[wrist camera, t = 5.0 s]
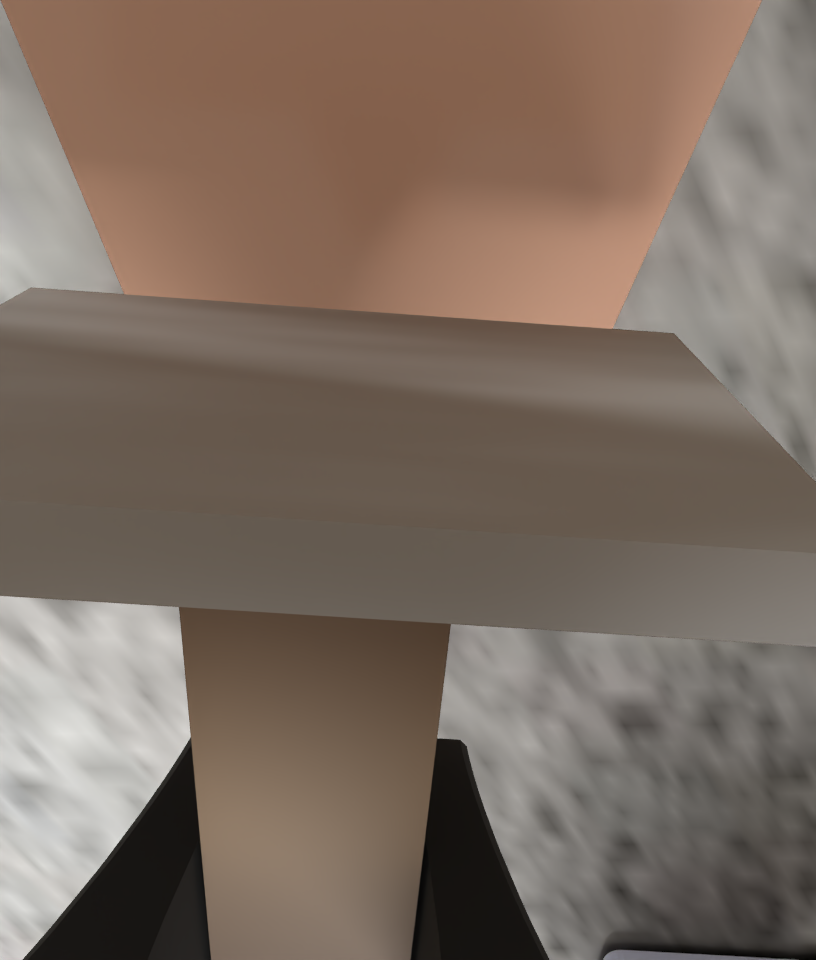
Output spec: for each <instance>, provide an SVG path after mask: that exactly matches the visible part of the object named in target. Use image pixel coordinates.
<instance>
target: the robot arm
mask: <svg viewBox="0 0 816 960" xmlns="http://www.w3.org/2000/svg"><path fill="white" fill-rule="evenodd" d="M23 960H211V953H210V942H209V931H208V920H207V909H206V898H205V887H204V876H203V865H202V854H201V843H200V832H199V821H198V810H197V799H196V788H195V776H194V765H193V754H192V743H191V738H190V740H189V741H188V743H187V745H186V746H185V748H184V750H183V751H182V753H181V754H180V756H179V757H178V759H177V761H176V762H175V764H174V765H173V767H172V768H171V770H170V771H169V773H168V774H167V776H166V777H165V779H164V780H163V782H162V783H161V785H160V786H159V788H158V789H157V791H156V792H155V793H154V795H153V796H152V798H151V799H150V801H149V802H148V803H147V805H146V806H145V808H144V809H143V811H142V812H141V813H140V815H139V816H138V817H137V819H136V820H135V821H134V823H133V824H132V825H131V827H130V828H129V829H128V831H127V832H126V834H125V835H124V836H123V838H122V839H121V840H120V842H119V843H118V844H117V846H116V847H115V848H114V850H113V851H112V852H111V854H110V855H109V856H108V858H107V859H106V860H105V862H104V863H103V864H102V865H101V867H100V868H99V869H98V871H97V872H96V873H95V874H94V875H93V877H92V878H91V879H90V880H89V882H88V883H87V884H86V885H85V886H84V888H83V889H82V890H81V891H80V893H79V894H78V895H77V896H76V897H75V899H74V900H73V901H72V902H71V904H70V905H69V906H68V907H67V908H66V910H65V911H64V912H63V913H62V914H61V916H60V917H59V918H58V919H57V921H56V922H55V923H54V924H53V925H52V927H51V928H50V929H49V930H48V931H47V932H46V934H45V935H44V936H43V937H42V938H41V939H40V940H39V942H38V943H37V944H36V945H35V946H34V947H33V948H32V950H31V951H30V952H29V953H28V954H27V955H26V956H25V957H24V959H23ZM410 960H549V958H548V956H547V954H546V952H545V950H544V948H543V946H542V943H541V941H540V939H539V937H538V935H537V933H536V931H535V929H534V927H533V925H532V923H531V921H530V919H529V916H528V914H527V912H526V910H525V908H524V905H523V903H522V901H521V899H520V897H519V894H518V892H517V890H516V887H515V885H514V883H513V880H512V878H511V875H510V873H509V871H508V868H507V866H506V864H505V861H504V859H503V857H502V854H501V852H500V849H499V847H498V844H497V842H496V839H495V836H494V834H493V831H492V829H491V826H490V823H489V820H488V817H487V815H486V812H485V809H484V806H483V803H482V800H481V797H480V794H479V791H478V788H477V785H476V781H475V778H474V775H473V771H472V767H471V763H470V760H469V755H468V751H467V746H466V745H465V744H464V743H463V742H462V741H461V740H453V739H437V742H436V751H435V759H434V767H433V776H432V784H431V792H430V801H429V809H428V817H427V826H426V834H425V842H424V851H423V859H422V867H421V876H420V884H419V892H418V901H417V909H416V917H415V926H414V934H413V942H412V951H411V959H410ZM603 960H797V959H779V958H761V957H743V956H726V955H708V954H690V953H672V952H654V951H637V950H614V951H611V952H609V953H608V954H606V956H605V957H604V958H603Z"/></svg>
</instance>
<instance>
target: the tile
mask: <svg viewBox="0 0 816 960" xmlns="http://www.w3.org/2000/svg"><path fill="white" fill-rule="evenodd" d="M761 1H762V0H1V2H2V4H3V7H4V9H5V11H6V14H7V16H8V19H9V21H10V23H11V26H12V28H13V30H14V33H15V35H16V38H17V40H18V42H19V45H20V47H21V49H22V52H23V54H24V57H25V59H26V61H27V64H28V66H29V68H30V71H31V73H32V76H33V78H34V80H35V83H36V85H37V88H38V90H39V92H40V95H41V97H42V99H43V102H44V104H45V107H46V109H47V111H48V114H49V116H50V118H51V121H52V123H53V126H54V128H55V130H56V133H57V135H58V137H59V140H60V142H61V145H62V147H63V149H64V152H65V154H66V157H67V159H68V161H69V164H70V166H71V168H72V171H73V173H74V176H75V178H76V180H77V183H78V185H79V187H80V190H81V192H82V195H83V197H84V199H85V202H86V204H87V206H88V209H89V211H90V214H91V216H92V218H93V221H94V223H95V225H96V228H97V230H98V233H99V235H100V237H101V240H102V242H103V245H104V247H105V249H106V252H107V254H108V256H109V259H110V261H111V264H112V266H113V268H114V271H115V273H116V275H117V278H118V280H119V283H120V285H121V287H122V290H123V292H124V294H127V295H141V296H155V297H170V298H184V299H198V300H212V301H226V302H240V303H254V304H268V305H282V306H296V307H310V308H324V309H338V310H352V311H366V312H381V313H395V314H409V315H423V316H437V317H451V318H465V319H479V320H493V321H507V322H521V323H535V324H549V325H563V326H578V327H592V328H606V329H613V326H614V324H615V322H616V320H617V318H618V316H619V313H620V311H621V309H622V307H623V305H624V302H625V300H626V298H627V296H628V294H629V291H630V289H631V287H632V285H633V283H634V280H635V278H636V276H637V274H638V272H639V269H640V267H641V265H642V263H643V261H644V258H645V256H646V254H647V252H648V250H649V247H650V245H651V243H652V241H653V239H654V236H655V234H656V232H657V230H658V228H659V225H660V223H661V221H662V219H663V217H664V214H665V212H666V210H667V208H668V206H669V203H670V201H671V199H672V197H673V195H674V192H675V190H676V188H677V186H678V184H679V182H680V179H681V177H682V175H683V173H684V171H685V168H686V166H687V164H688V162H689V160H690V157H691V155H692V153H693V151H694V149H695V146H696V144H697V142H698V140H699V138H700V135H701V133H702V131H703V129H704V127H705V124H706V122H707V120H708V118H709V116H710V113H711V111H712V109H713V107H714V105H715V102H716V100H717V98H718V96H719V94H720V91H721V89H722V87H723V85H724V83H725V80H726V78H727V76H728V74H729V72H730V69H731V67H732V65H733V63H734V61H735V58H736V56H737V54H738V52H739V50H740V48H741V45H742V43H743V41H744V39H745V37H746V34H747V32H748V30H749V28H750V26H751V23H752V21H753V19H754V17H755V15H756V12H757V10H758V8H759V6H760V4H761Z"/></svg>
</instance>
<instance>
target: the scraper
mask: <svg viewBox="0 0 816 960" xmlns="http://www.w3.org/2000/svg"><path fill="white" fill-rule="evenodd" d="M0 596H13V597H29V598H45V599H61V600H77V601H93V602H109V603H125V604H141V605H157V606H173V607H179V611H180V622H181V633H182V644H183V655H184V666H185V677H186V688H187V699H188V710H189V721H190V732H191V743H192V754H193V765H194V776H195V788H196V799H197V810H198V821H199V832H200V843H201V854H202V865H203V876H204V887H205V898H206V909H207V920H208V931H209V942H210V953H211V960H410V959H411V951H412V942H413V934H414V926H415V917H416V909H417V901H418V892H419V884H420V876H421V867H422V859H423V851H424V842H425V834H426V826H427V817H428V809H429V801H430V792H431V784H432V776H433V767H434V759H435V751H436V742H437V734H438V726H439V717H440V709H441V701H442V693H443V684H444V676H445V668H446V659H447V651H448V643H449V634H450V626H451V624H460V625H476V626H492V627H508V628H524V629H540V630H556V631H572V632H588V633H604V634H620V635H636V636H652V637H668V638H684V639H700V640H716V641H732V642H748V643H764V644H780V645H796V646H812V647H816V482H815V481H814V480H813V479H812V478H811V477H810V476H809V475H808V474H807V473H806V472H805V471H804V470H803V468H802V467H801V466H800V465H799V464H798V463H797V462H796V461H795V460H794V459H793V458H792V457H791V456H790V455H789V454H788V453H787V452H786V451H785V450H784V449H783V447H782V446H781V445H780V444H779V443H778V442H777V441H776V440H775V439H774V438H773V437H772V436H771V435H770V434H769V433H768V432H767V431H766V430H765V429H764V428H763V426H762V425H761V424H760V423H759V422H758V421H757V420H756V419H755V418H754V417H753V416H752V415H751V414H750V413H749V412H748V411H747V410H746V409H745V408H744V407H743V405H742V404H741V403H740V402H739V401H738V400H737V399H736V398H735V397H734V396H733V395H732V394H731V393H730V392H729V391H728V390H727V389H726V388H725V387H724V386H723V385H722V383H721V382H720V381H719V380H718V379H717V378H716V377H715V376H714V375H713V374H712V373H711V372H710V371H709V370H708V369H707V368H706V367H705V366H704V365H703V364H702V362H701V361H700V360H699V359H698V358H697V357H696V356H695V355H694V354H693V353H692V352H691V351H690V350H689V349H688V348H687V347H686V346H685V345H684V344H683V343H682V341H681V340H680V339H679V338H678V337H677V336H676V335H675V334H674V333H662V332H648V331H634V330H620V329H606V328H592V327H578V326H563V325H549V324H535V323H521V322H507V321H493V320H479V319H465V318H451V317H437V316H423V315H409V314H395V313H381V312H366V311H352V310H338V309H324V308H310V307H296V306H282V305H268V304H254V303H240V302H226V301H212V300H198V299H184V298H170V297H155V296H141V295H127V294H113V293H99V292H85V291H71V290H57V289H43V288H29V289H28V290H26V291H24V292H22V293H21V294H19V295H17V296H15V297H14V298H12V299H10V300H8V301H6V302H5V303H3V304H1V305H0Z"/></svg>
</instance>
